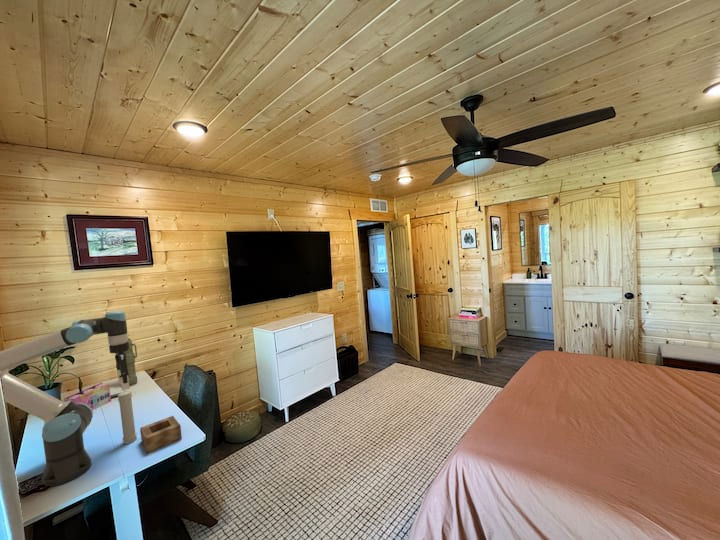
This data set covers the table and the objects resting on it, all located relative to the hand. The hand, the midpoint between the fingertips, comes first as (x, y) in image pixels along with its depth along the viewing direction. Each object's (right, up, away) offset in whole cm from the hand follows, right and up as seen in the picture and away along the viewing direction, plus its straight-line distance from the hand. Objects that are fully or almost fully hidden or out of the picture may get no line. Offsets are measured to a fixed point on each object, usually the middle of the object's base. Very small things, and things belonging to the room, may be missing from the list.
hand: (123, 385), depth 148 cm
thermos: (-53, -29, +74) cm, 95 cm away
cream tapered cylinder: (+2, -28, +1) cm, 28 cm away
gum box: (-51, -30, +40) cm, 72 cm away
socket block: (+19, -26, 0) cm, 32 cm away
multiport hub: (-47, -30, +56) cm, 79 cm away
